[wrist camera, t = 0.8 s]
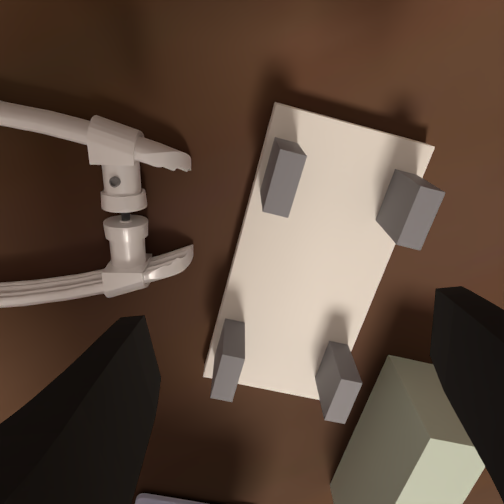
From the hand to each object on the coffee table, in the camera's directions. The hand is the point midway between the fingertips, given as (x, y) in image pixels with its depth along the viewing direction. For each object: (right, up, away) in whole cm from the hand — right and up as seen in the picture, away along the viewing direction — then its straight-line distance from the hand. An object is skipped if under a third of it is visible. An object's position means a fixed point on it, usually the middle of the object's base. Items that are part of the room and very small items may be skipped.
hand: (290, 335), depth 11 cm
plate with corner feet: (+2, +1, +11) cm, 11 cm away
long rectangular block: (+7, -8, +15) cm, 18 cm away
